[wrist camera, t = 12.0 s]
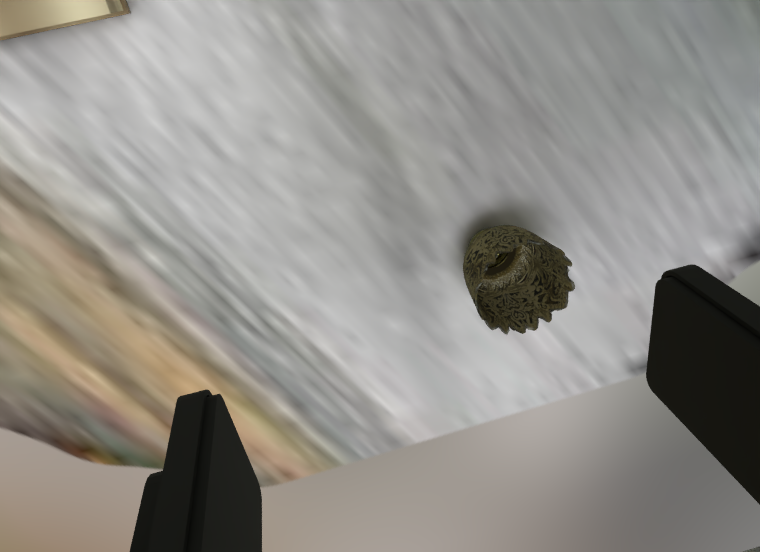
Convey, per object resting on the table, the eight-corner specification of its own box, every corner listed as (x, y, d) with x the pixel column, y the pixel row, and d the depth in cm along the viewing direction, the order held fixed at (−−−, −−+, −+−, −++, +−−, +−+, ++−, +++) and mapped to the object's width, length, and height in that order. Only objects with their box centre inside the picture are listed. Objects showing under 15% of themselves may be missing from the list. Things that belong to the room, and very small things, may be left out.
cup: (435, 218, 43) (470, 263, 36) (522, 191, 44) (572, 230, 37) (451, 294, 47) (485, 348, 40) (531, 268, 47) (577, 317, 41)
